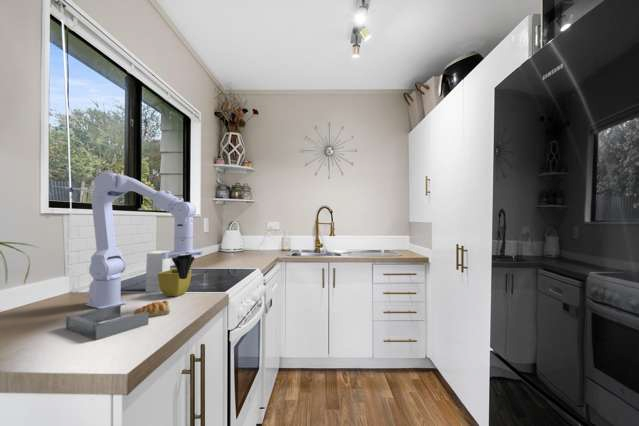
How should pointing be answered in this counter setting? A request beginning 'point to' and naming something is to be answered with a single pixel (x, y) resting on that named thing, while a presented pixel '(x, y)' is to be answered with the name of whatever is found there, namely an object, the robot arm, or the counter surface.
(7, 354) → the counter surface
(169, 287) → the flower pot
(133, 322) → the grey tray
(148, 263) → the skincare box
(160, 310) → the pastry
